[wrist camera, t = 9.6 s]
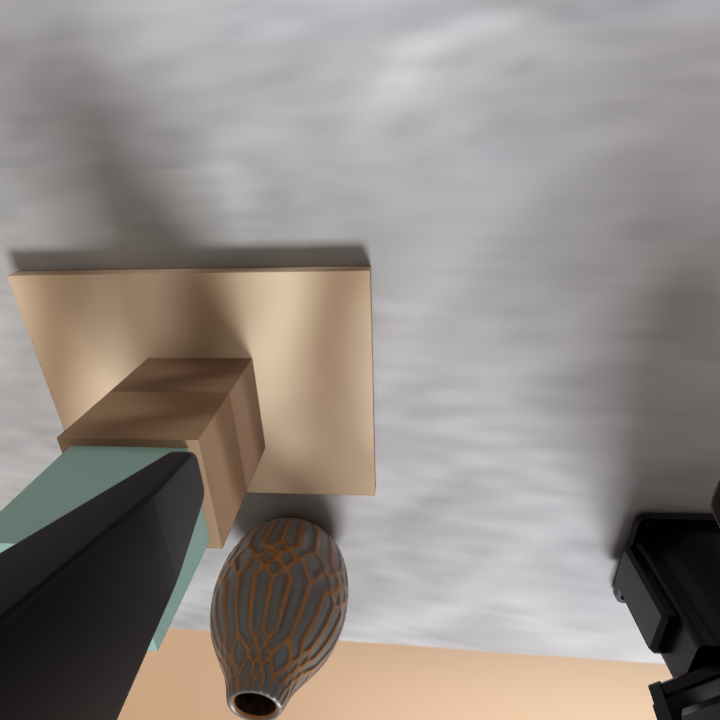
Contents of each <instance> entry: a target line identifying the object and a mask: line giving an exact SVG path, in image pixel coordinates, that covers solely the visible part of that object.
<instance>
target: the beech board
mask: <svg viewBox="0 0 720 720" xmlns="http://www.w3.org/2000/svg"><path fill="white" fill-rule="evenodd" d="M7 277H8V280H9V283H10V285H11V288H12V291H13V294H14V296H15V299H16V302H17V304H18V307H19V310H20V312H21V315H22V318H23V320H24V323H25V326H26V328H27V331H28V334H29V337H30V339H31V342H32V345H33V347H34V350H35V353H36V355H37V358H38V361H39V363H40V366H41V369H42V371H43V374H44V377H45V380H46V382H47V385H48V388H49V390H50V393H51V396H52V398H53V401H54V404H55V406H56V409H57V412H58V414H59V417H60V420H61V423H62V425H63V428H64V431H65V430H66V429H67V428H69V427H70V426H71V425H72V424H73V423H74V422H75V421H77V420H78V419H79V418H80V417H81V416H82V415H83V414H85V413H86V412H87V411H88V410H89V409H90V408H91V407H93V406H94V405H95V404H96V403H97V402H98V401H99V400H101V399H102V398H103V397H104V396H105V395H106V394H107V393H109V392H110V391H111V390H112V389H113V388H114V387H115V386H117V385H118V384H119V383H120V382H121V381H122V380H123V379H125V378H126V377H127V376H128V375H129V374H130V373H131V372H133V371H134V370H135V369H136V368H137V367H138V366H139V365H141V364H142V363H143V362H144V361H145V360H146V359H147V358H252V359H253V366H254V372H255V379H256V386H257V393H258V399H259V406H260V413H261V420H262V426H263V433H264V440H265V450H264V452H263V454H262V457H261V459H260V462H259V464H258V466H257V469H256V471H255V473H254V476H253V478H252V480H251V483H250V485H249V487H248V490H247V492H246V493H286V494H327V495H368V496H375V487H376V482H375V437H374V391H373V346H372V301H371V266H341V267H271V268H202V269H133V270H64V271H19V272H16V273H13V274H11V275H8V276H7Z"/></svg>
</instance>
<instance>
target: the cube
mask: <svg viewBox="0 0 720 720" xmlns="http://www.w3.org/2000/svg"><path fill="white" fill-rule="evenodd" d="M173 451H184V452H190V451H189V448H158V447H111V446H70V447H69V448H68V449H67V450H66V451H65V452H64V453H63V454H61V455H60V456H59V457H58V458H57V459H56V460H55V461H54V462H53V463H52V464H51V465H50V466H49V467H48V468H47V469H45V470H44V471H43V472H42V473H41V474H40V475H39V476H38V477H37V478H36V479H35V480H34V481H33V482H32V483H31V484H29V485H28V486H27V487H26V488H25V489H24V490H23V491H22V492H21V493H20V494H19V495H18V496H17V497H16V498H15V499H13V500H12V501H11V502H10V503H9V504H8V505H7V506H6V507H5V508H4V509H3V510H2V511H1V512H0V553H1V552H3V551H4V550H6V549H8V548H9V547H11V546H13V545H14V544H16V543H18V542H19V541H21V540H23V539H24V538H26V537H28V536H29V535H31V534H33V533H35V532H36V531H38V530H40V529H41V528H43V527H45V526H46V525H48V524H50V523H51V522H53V521H55V520H56V519H58V518H60V517H61V516H63V515H65V514H67V513H68V512H70V511H72V510H73V509H75V508H77V507H78V506H80V505H82V504H83V503H85V502H87V501H88V500H90V499H92V498H94V497H95V496H97V495H99V494H100V493H102V492H104V491H105V490H107V489H109V488H110V487H112V486H114V485H115V484H117V483H119V482H120V481H122V480H124V479H126V478H127V477H129V476H131V475H132V474H134V473H136V472H137V471H139V470H141V469H142V468H144V467H146V466H147V465H149V464H151V463H152V462H154V461H156V460H158V459H159V458H161V457H163V456H164V455H166V454H168V453H170V452H173ZM209 540H210V537H209V533H208V529H207V524H206V520H205V516H204V511H203V507H202V506H201V509H200V513H199V516H198V519H197V522H196V525H195V528H194V532H193V535H192V538H191V541H190V544H189V547H188V550H187V554H186V557H185V560H184V563H183V566H182V569H181V572H180V575H179V578H178V581H177V583H176V586H175V588H174V590H173V593H172V595H171V598H170V600H169V602H168V604H167V607H166V609H165V611H164V614H163V616H162V618H161V620H160V623H159V625H158V627H157V629H156V632H155V634H154V636H153V639H152V641H151V643H150V645H149V648H148V650H147V651H158V649H159V647H160V645H161V643H162V640H163V639H164V637H165V634H166V632H167V630H168V628H169V626H170V624H171V622H172V619H173V617H174V615H175V613H176V611H177V609H178V607H179V605H180V602H181V600H182V598H183V596H184V594H185V592H186V590H187V587H188V585H189V583H190V581H191V579H192V577H193V575H194V572H195V570H196V568H197V566H198V564H199V562H200V560H201V557H202V555H203V553H204V551H205V549H206V547H207V545H208V542H209Z"/></svg>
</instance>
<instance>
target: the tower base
mask: <svg viewBox="0 0 720 720" xmlns="http://www.w3.org/2000/svg"><path fill="white" fill-rule="evenodd" d="M110 392H210V393H230V398H231V403H232V409H233V414H234V420H235V426H236V431H237V437H238V443H239V448H240V454H241V459H242V465H243V471H244V476H245V482H246V487H247V490H248V487H249V485H250V483H251V480H252V478H253V476H254V473H255V471H256V469H257V466H258V464H259V462H260V459H261V457H262V454H263V452H264V450H265V440H264V433H263V426H262V420H261V413H260V406H259V399H258V393H257V386H256V379H255V372H254V366H253V359H252V358H147V359H146V360H145V361H144V362H143V363H142V364H141V365H139V366H138V367H137V368H136V369H135V370H134V371H133V372H131V373H130V374H129V375H128V376H127V377H126V378H125V379H123V380H122V381H121V382H120V383H119V384H118V385H117V386H115V387H114V388H113V389H112V390H111V391H110Z"/></svg>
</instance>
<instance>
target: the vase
mask: <svg viewBox="0 0 720 720" xmlns="http://www.w3.org/2000/svg"><path fill="white" fill-rule="evenodd" d="M347 605H348V577H347V571H346V567H345V563H344V559H343V557H342V554H341V552H340V549H339V548H338V546H337V544H336V543H335V542H334V540H333V539H332V538H331V537H330V535H329V534H328V533H326V532H325V531H324V530H323V529H321V528H320V527H319V526H317V525H315V524H314V523H312V522H310V521H307V520H304V519H300V518H279V519H274V520H270V521H268V522H265V523H263V524H261V525H259V526H257V527H255V528H254V529H252V530H251V531H250V532H249V533H248V534H246V535H245V536H244V537H243V538H242V539H241V540H240V541H239V543H238V544H237V545H236V546H235V547H234V549H233V550H232V552H231V553H230V554H229V556H228V558H227V560H226V562H225V563H224V565H223V567H222V570H221V572H220V574H219V577H218V579H217V582H216V585H215V588H214V592H213V597H212V603H211V613H210V630H211V637H212V642H213V646H214V649H215V652H216V655H217V658H218V661H219V664H220V667H221V669H222V672H223V675H224V678H225V684H226V697H227V704H228V706H229V708H230V710H231V711H232V712H233V713H234V714H236V715H237V716H239V717H241V718H243V719H246V720H274V719H276V718H277V717H279V716H280V715H281V713H282V711H283V710H284V709H285V707H286V705H287V704H288V702H289V700H290V699H291V697H292V696H293V695H294V693H295V692H296V691H297V690H298V689H299V688H300V687H302V686H303V685H304V684H305V683H306V682H307V681H308V680H309V679H310V678H311V677H312V676H313V675H314V674H315V673H316V672H317V671H318V670H319V669H320V668H321V667H322V666H323V665H324V663H325V662H326V661H327V660H328V658H329V656H330V655H331V653H332V651H333V649H334V647H335V645H336V643H337V641H338V639H339V636H340V634H341V631H342V628H343V625H344V621H345V618H346V612H347Z"/></svg>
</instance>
